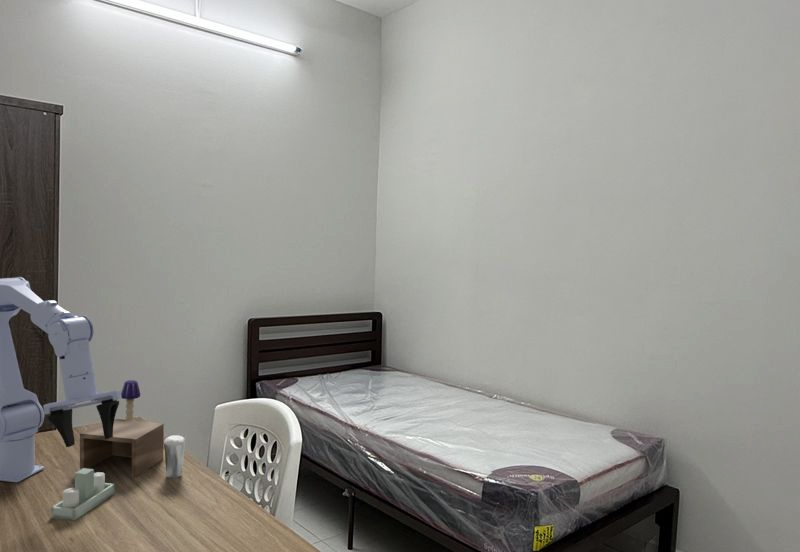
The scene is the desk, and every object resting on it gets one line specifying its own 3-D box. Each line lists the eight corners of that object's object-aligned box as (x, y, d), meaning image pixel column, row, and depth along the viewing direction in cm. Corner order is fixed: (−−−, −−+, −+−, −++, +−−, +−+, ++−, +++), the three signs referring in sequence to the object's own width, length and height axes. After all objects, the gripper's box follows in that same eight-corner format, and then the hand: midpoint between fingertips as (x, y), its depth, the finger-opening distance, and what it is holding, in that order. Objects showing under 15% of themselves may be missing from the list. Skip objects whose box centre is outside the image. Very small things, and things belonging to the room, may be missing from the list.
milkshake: (180, 481, 129) (181, 437, 129) (159, 478, 130) (159, 435, 130) (192, 473, 134) (192, 431, 133) (171, 470, 135) (171, 428, 134)
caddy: (51, 517, 111) (50, 482, 111) (93, 490, 123) (93, 458, 123) (74, 520, 111) (74, 485, 110) (114, 493, 122) (115, 461, 122)
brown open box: (79, 470, 133) (79, 433, 132) (111, 453, 143) (111, 418, 143) (135, 477, 130) (136, 439, 130) (163, 458, 141) (163, 423, 141)
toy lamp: (133, 440, 152) (134, 378, 151) (143, 444, 150) (144, 381, 148) (115, 445, 149) (116, 381, 147) (125, 449, 146) (126, 384, 145)
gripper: (30, 385, 113) (42, 454, 113) (106, 370, 115) (118, 438, 114) (50, 381, 121) (60, 445, 120) (120, 367, 122) (132, 431, 121)
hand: (89, 441), depth 117 cm, fingers open, 7 cm apart
